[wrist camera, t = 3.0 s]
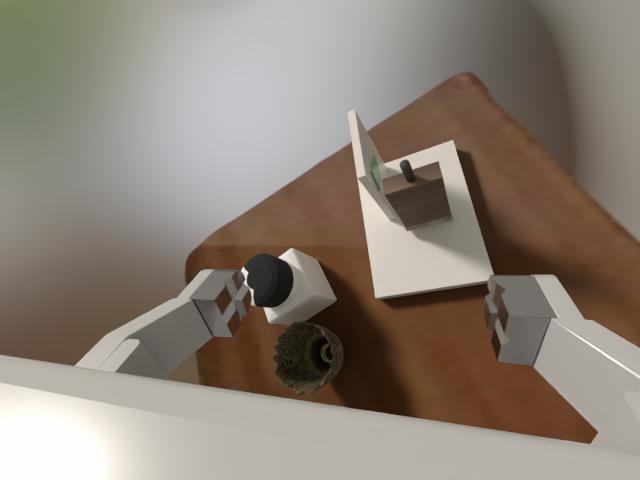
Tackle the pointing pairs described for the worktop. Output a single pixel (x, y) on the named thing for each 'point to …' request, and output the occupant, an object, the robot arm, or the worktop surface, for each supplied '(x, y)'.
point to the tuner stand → (424, 243)
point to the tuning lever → (418, 195)
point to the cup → (307, 357)
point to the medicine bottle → (288, 286)
